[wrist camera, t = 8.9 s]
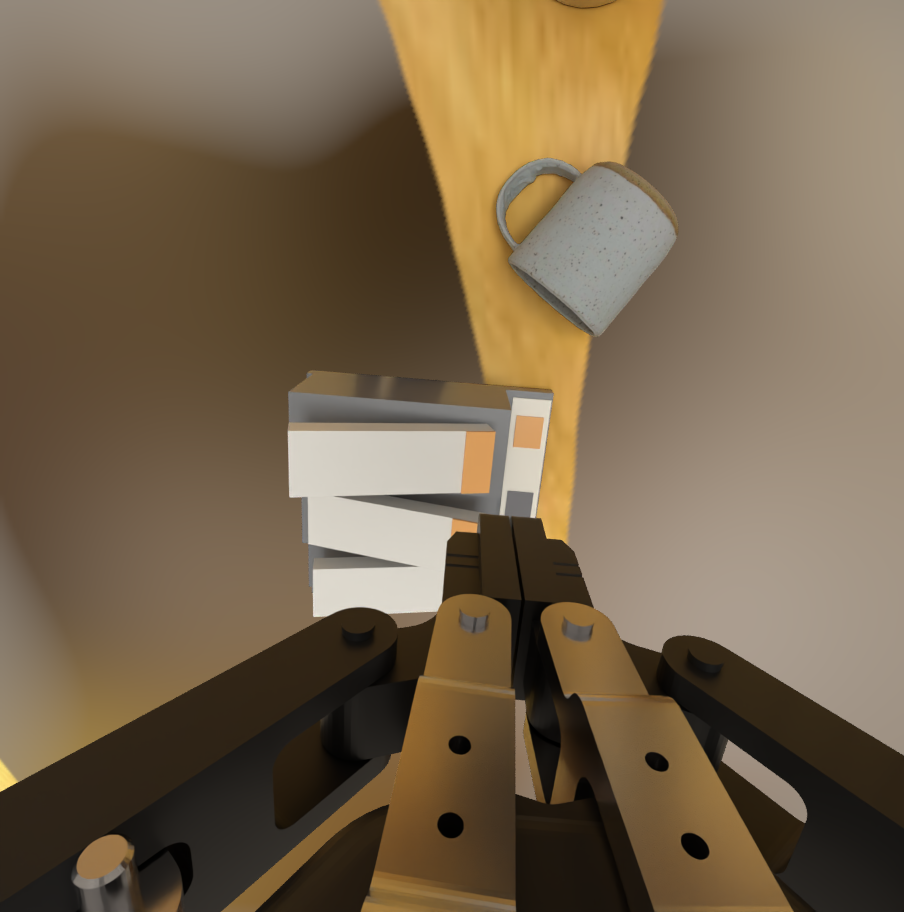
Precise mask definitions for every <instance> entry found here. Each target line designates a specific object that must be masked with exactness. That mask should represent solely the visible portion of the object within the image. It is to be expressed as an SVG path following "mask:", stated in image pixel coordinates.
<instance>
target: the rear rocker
mask: <svg viewBox="0 0 904 912" xmlns="http://www.w3.org/2000/svg"><path fill="white" fill-rule="evenodd" d="M443 583H444V572H443V571H438V570H433V569H428V568H423V567H418V566H414V565H409V564H404V563H399V562H394V561H389V560H384V559H379V558H374V557H340V558H314V564H313V617H320V616H329V615H331V614H333V613H335V612H337V611H340V610H343V609H347V608H354V607H366V608H373V609H377V610H380V611H382V612H384V613H386V614H387V613H388V614H389V613H412V612H435V611H438V609H439V606H440V605H441V604H442V595H443Z"/></svg>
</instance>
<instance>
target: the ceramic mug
mask: <svg viewBox="0 0 904 912" xmlns="http://www.w3.org/2000/svg"><path fill="white" fill-rule="evenodd" d="M552 173H553V174H558V175H559V176H564V177H565V178H567V179H569V180H571V181H573V182H574V183H573V184H572V185H571V186H570V187H569V188H568V189H567V191H566V192H565V193H564V194H563V195H562V197H561V198H560V199H559V201H558V202H557V203H556V204H555V205H554V207H553V208H552V209H551V210H550V211H549V212H548V214H547V215H546V216H545V217H544V218H543V219H542V220H541V221H540V222H539V223H538V224H537V225H536V226H535V228H534V229H533V230H532V231H531V232H530V234H529V235H528V236H527V237H526V238H525V239H524V240H523V242H522V243H521V244H517V243H516V242H515V241H514V240H513V239H512V237H511V235H510V233H509V231H508V229H507V226H506V220H505V215H506V214H505V213H506V210H507V209H508V206H509V204H510V203H511V201H512V200H513V199H514V198H515V197H516V196H517V195H518V194H519V193H520V192H521V190H522V189H523V188H525V187H526V186H527V185H528V184H530V183H533V182H534V180H535V179H536V176H538V175H541V174H552ZM496 214H497V221H498V225H499V228H500V231H501V233H502V235H503V236H504V238H505V240H506V241H507V242H508V244H509V245H510V247H511V248H512V250H513V251H514V252H513V253H512V254H511V255H510V257H509V258H508V262H509V264H510V266H511V267H512V269H513V270H514V271H515V272H516V273H517V274H518V275H519V276H520V277H521V278H522V279H523V280H524V281H525V282H526V284H527V285H529V286H530V287H531V288H532V289H533V290H534V291H536V293H537V294H538V295H539V296H540V297H542V298H543V299H544V300H545V301H546V302H547V303H549V304H550V305H551V306H552V307H553V308H554V309H556V310H557V311H558V312H559V313H560V314H562V315H563V316H564V317H565V318H567V319H568V320H569V321H570V322H572V323H573V324H574V325H576V326H577V327H578V328H579V329H581V330H583V331H584V332H586V333H588V334H589V335H591V336H594V337H599V336H600V335H601V334H603V332H604V331H605V330H606V328H607V327H608V326H609V325H610V323H611V322H612V321H613V320H614V319H615V317H616V316H617V315H618V314H619V313H620V312H621V310H622V309H623V308H624V307H625V306H626V304H627V303H628V302H629V301H630V300H631V298H632V297H633V296H634V295H635V293H636V292H637V291H638V290H639V288H640V287H641V286H642V285H643V283H644V282H645V281H646V280H647V278H648V277H649V276H650V275H651V274H652V273H653V271H655V269H656V268H657V267H658V266H659V265H660V263H661V262H662V261H663V259H664V258H665V257H666V255H667V254H668V252H669V251H670V249H671V247H672V246H673V244H674V242H675V240H676V238H677V235H678V222H677V218H676V215H675V213H674V212H673V210H672V208H671V206H670V205H669V203H668V202H667V201H666V200H665V198H664V197H663V196H662V195H661V194H660V193H659V192H658V191H657V190H656V189H655V188H654V187H653V186H652V185H651V184H649V183H648V182H647V181H646V180H645V179H643V178H642V177H641V176H639V175H638V174H637V173H635V172H634V171H632V170H630V169H628V168H626V167H624V166H623V165H621V164H618V163H614V162H600V163H596V164H594V165H593V166H592V167H590V168H589V169H588V170H587V171H585V172H584V173H583V174H581V173H580V172H579V171H578V170H577V169H576V168H574V167H573V166H572V165H570V164H567V163H565V162H564V161H561V160H557V159H552V158H544V159H538V160H535V161H532V162H529V163H527V164H526V165H524V166H522V167H521V168H520V169H518V170H517V171H516V172H515V173H514V174H513V175H512V176H511V177H510V178H509V179H508V180H507V182H506V183H505V184H504V186H503V187H502V189H501V191H500V193H499V195H498V199H497V204H496Z"/></svg>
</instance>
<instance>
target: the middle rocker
mask: <svg viewBox="0 0 904 912" xmlns="http://www.w3.org/2000/svg"><path fill="white" fill-rule="evenodd" d="M479 513H481V512H476V511H470V510H465V509H459V508H453V507H448V506H442V505H437V504H431V503H426V502H420V501H414V500H409V499H403V498H398V497H392V496H386V495H361V496H323V497H308V544H311V545H316V546H321V547H326V548H330V549H335V550H340V551H345V552H350V553H355V554H360V555H365V556H370V557H374V558H379V559H384V560H389V561H394V562H399V563H404V564H409V565H414V566H418V567H423V568H428V569H433V570H438V571H443V572H444V571H445V559H446V547H447V541H448V540H449V539H450V538H451V536H452V535H453V534H454V533H455V532H456V531H459V532H471V533H477V525H478V517H479ZM481 514H485V513H481Z"/></svg>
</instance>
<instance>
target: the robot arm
mask: <svg viewBox="0 0 904 912" xmlns="http://www.w3.org/2000/svg"><path fill="white" fill-rule="evenodd" d="M557 1H559V2H561V3H563V4H566V5H570V6H575V7H580V8H584V7H598V6H601V5H605V4H608V3H611V2H614V1H616V0H557ZM578 565H579V564H578V561H577V558H576V556H575V553H574V551H573V550H572V549H571V548H570V547H569V546H567V545H566V544H565V543H564V542H563V541H562V540H555V539H547V538H546V535H545V531H544V527H543V524H542V520H541V518H529V517H517V516H511V517H510V519H509V516H504V515H493V514H481V513H479V517H478V525H477V533H471V532H459V531H456V532H455V533H454V534H453V535H452V536H451V538H450V539H449V540H448V541H447V547H446V559H445V571H444V583H443V595H442V604H441V605H440V606H439V609H438V612H437V614H436V615H435V616H434V617H433V618H432V619H430V620H428V621H427V622H424V623H423V624H419V625H416V626H411V627H405V628H397V625H396V623H395V621H394V620H393V619H392V618H391V617H390V616H389V615H388V614H386V613H384V612H382V611H380V610H377V609H373V608H366V607H354V608H347V609H343V610H340V611H337V612H335V613H333V614H331V615H329V616H327V617H326V618H324V619H322V620H320V621H318V622H316V623H314V624H312V625H311V626H309V627H307V628H305V629H303V630H301V631H299V632H298V633H296V634H294V635H292V636H290V637H288V638H286V639H285V640H283V641H281V642H279V643H277V644H275V645H273V646H272V647H270V648H268V649H266V650H264V651H262V652H260V653H258V654H257V655H255V656H253V657H251V658H249V659H247V660H246V661H243V662H242V663H240V664H238V665H236V666H234V667H232V668H231V669H229V670H227V671H225V672H223V673H221V674H219V675H217V676H216V677H214V678H212V679H210V680H208V681H206V682H204V683H202V684H201V685H199V686H197V687H195V688H193V689H191V690H189V691H188V692H186V693H184V694H182V695H180V696H178V697H176V698H175V699H173V700H171V701H169V702H167V703H165V704H163V705H161V706H160V707H158V708H156V709H154V710H152V711H150V712H148V713H147V714H145V715H143V716H141V717H139V718H137V719H136V720H134V721H132V722H130V723H128V724H126V725H124V726H122V727H121V728H119V729H117V730H115V731H113V732H111V733H110V734H108V735H106V736H104V737H102V738H100V739H98V740H96V741H95V742H92V743H91V744H89V745H87V746H85V747H84V748H81V749H80V750H78V751H76V752H74V753H72V754H70V755H68V756H66V757H65V758H63V759H61V760H59V761H57V762H55V763H53V764H51V765H50V766H48V767H46V768H44V769H42V770H40V771H38V772H37V773H35V774H33V775H31V776H29V777H27V778H26V779H24V780H22V781H20V782H18V783H16V784H14V785H12V786H10V787H9V788H7V789H5V790H3V791H1V792H0V912H221V911H222V910H223V909H224V908H226V907H227V906H228V905H229V904H230V903H231V902H232V901H234V900H235V899H236V898H237V897H238V896H239V895H240V894H242V893H243V892H244V891H245V890H246V889H247V888H248V887H250V886H251V885H252V884H253V883H254V882H255V881H256V880H258V879H259V878H260V877H261V876H262V875H263V874H264V873H266V872H267V871H268V870H269V869H270V868H271V867H273V866H274V865H275V864H276V863H277V862H278V861H279V860H281V859H282V858H283V857H284V856H285V855H286V854H287V853H289V852H290V851H291V850H292V849H293V848H294V847H295V846H296V845H298V844H299V843H300V842H301V841H302V840H303V839H305V838H306V837H307V836H308V835H309V834H310V833H312V832H313V831H314V830H315V829H316V828H317V827H318V826H320V825H321V824H322V823H323V822H324V821H325V820H326V819H328V818H329V817H330V816H331V815H332V814H333V813H334V812H336V811H337V810H338V809H339V808H340V807H341V806H342V805H344V804H345V803H346V802H347V801H348V800H349V799H350V798H352V796H354V795H355V794H356V793H357V792H358V791H360V790H361V789H362V788H363V787H364V786H365V785H366V784H367V783H369V782H370V781H371V780H372V779H373V778H375V777H376V776H377V775H378V774H379V773H380V772H381V771H382V770H383V769H384V768H385V767H386V765H387V764H388V762H389V760H390V757H391V754H394V753H399V752H401V756H400V761H399V765H398V769H397V774H396V779H395V783H394V787H393V791H392V796H391V800H390V804H389V805H386V806H382V807H380V808H378V809H375V810H373V811H371V812H368V813H366V814H364V815H363V816H361V817H359V818H358V819H356V820H354V821H352V822H351V823H350V824H348V825H347V826H346V827H344V828H343V829H342V830H340V831H339V832H338V833H336V834H335V835H334V836H333V837H332V838H331V839H330V840H328V841H327V842H326V843H325V844H324V845H323V846H322V847H321V848H320V849H319V850H318V851H317V852H316V853H315V854H314V855H313V856H312V857H311V858H310V859H309V860H308V861H307V862H306V863H305V864H304V865H303V866H302V867H300V868H299V870H297V872H295V873H294V874H293V875H292V876H291V877H290V878H289V879H288V880H287V881H286V882H285V883H284V884H283V885H282V886H281V887H280V888H279V889H278V890H277V891H276V892H275V893H274V894H273V895H272V896H271V897H270V898H269V899H268V900H267V901H266V902H264V903H263V904H262V905H261V906H260V907H259V908H258V909H257V910H256V911H255V912H904V756H903V755H902V754H900V753H899V752H897V751H895V750H894V749H892V748H890V747H889V746H887V745H885V744H883V743H882V742H880V741H879V740H877V739H875V738H874V737H872V736H870V735H869V734H867V733H865V732H864V731H862V730H861V729H859V728H857V727H856V726H854V725H852V724H851V723H849V722H847V721H846V720H844V719H842V718H840V717H839V716H837V715H836V714H834V713H832V712H830V711H829V710H827V709H826V708H824V707H822V706H821V705H819V704H817V703H816V702H814V701H813V700H811V699H809V698H808V697H806V696H804V695H803V694H801V693H799V692H798V691H796V690H794V689H793V688H791V687H789V686H788V685H786V684H784V683H783V682H781V681H779V680H778V679H776V678H774V677H773V676H771V675H769V674H768V673H766V672H764V671H763V670H761V669H760V668H758V667H756V666H754V665H753V664H751V663H750V662H748V661H746V660H744V659H743V658H741V657H740V656H738V655H736V654H734V653H733V652H731V651H730V650H728V649H726V648H725V647H723V646H721V645H719V644H717V643H715V642H713V641H710V640H707V639H704V638H700V637H695V636H685V635H683V636H676V637H672V638H670V639H668V640H667V641H666V642H665V643H664V646H663V649H662V653H659V652H656V651H653V650H649V649H646V648H642V647H638V646H635V645H633V644H630V643H628V642H625V641H623V640H621V638H620V636H619V634H618V633H617V630H616V628H615V626H614V625H613V623H612V621H610V619H609V618H608V617H607V616H605V615H604V614H603V613H601V612H600V611H598V610H596V609H594V607H593V605H592V602H591V598H590V595H589V593H588V590H587V587H586V584H585V581H584V578H582V573H581V570H580V567H578ZM515 699H516V700H525V704H526V714H525V721H524V727H523V737H524V742H525V747H526V752H527V756H528V761H529V767H530V772H531V777H532V782H533V787H534V792H535V797H536V800H532V799H529V798H526V797H523V796H520V795H517V794H515ZM728 740H730V741H731V742H732V743H734V744H735V745H737V746H738V747H739V748H741V749H742V750H743V751H745V752H747V753H748V754H749V755H751V756H752V757H753V758H754V759H756V760H757V761H758V762H760V763H761V764H763V765H764V766H765V767H767V768H768V769H769V770H771V771H772V772H774V773H775V774H776V775H778V776H779V777H780V778H782V779H783V780H785V781H786V782H787V783H789V784H790V785H791V786H792V787H793V788H794V789H795V790H796V791H797V792H798V793H799V795H800V796H801V798H802V799H803V801H804V803H805V805H806V809H807V821H806V823H803V822H802V821H800V820H798V819H797V818H795V817H794V816H793V815H791V814H790V813H788V812H787V811H786V810H785V809H783V808H782V807H781V806H779V805H778V804H777V803H776V802H774V801H773V800H772V799H770V798H769V797H768V796H766V795H765V794H764V793H763V792H761V791H760V790H759V789H757V788H756V787H755V786H753V785H752V784H751V783H750V782H748V781H747V780H746V779H744V778H743V777H742V776H740V775H739V774H738V773H736V772H735V771H734V770H733V769H731V768H730V767H729V766H727V765H726V764H724V763H723V762H722V761H721V760H722V757H723V754H724V751H725V748H726V745H727V742H728Z"/></svg>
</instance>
